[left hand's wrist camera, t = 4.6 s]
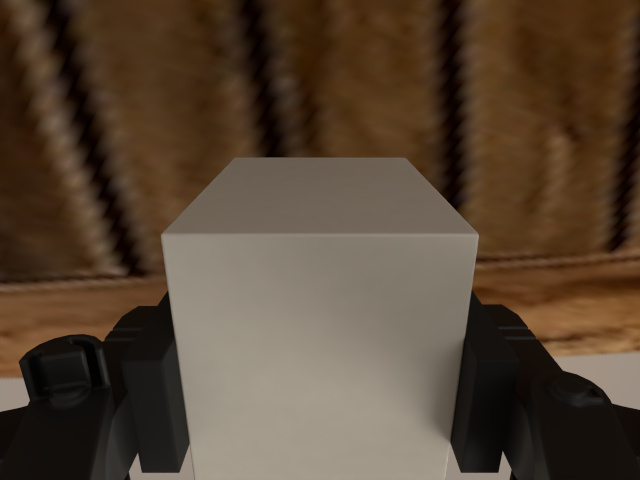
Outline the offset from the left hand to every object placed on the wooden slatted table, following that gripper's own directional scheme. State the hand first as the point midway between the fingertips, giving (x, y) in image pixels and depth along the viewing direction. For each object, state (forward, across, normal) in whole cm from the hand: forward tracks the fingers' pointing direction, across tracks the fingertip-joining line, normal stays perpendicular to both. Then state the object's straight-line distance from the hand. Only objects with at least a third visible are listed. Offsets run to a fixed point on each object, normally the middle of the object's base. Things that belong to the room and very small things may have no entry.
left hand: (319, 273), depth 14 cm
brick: (+2, 0, 0) cm, 2 cm away
